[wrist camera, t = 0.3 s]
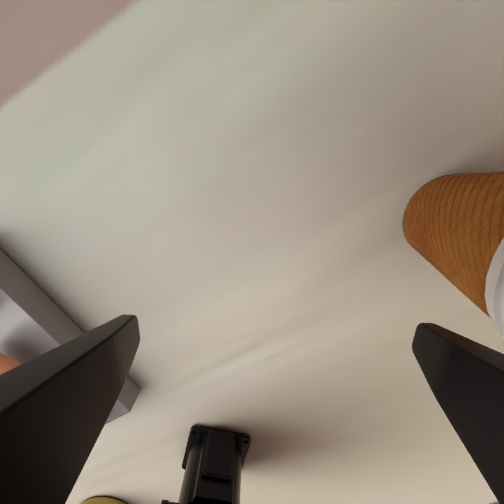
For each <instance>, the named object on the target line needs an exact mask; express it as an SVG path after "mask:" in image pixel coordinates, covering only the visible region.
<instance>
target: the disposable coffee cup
mask: <svg viewBox="0 0 504 504" xmlns="http://www.w3.org/2000/svg"><path fill="white" fill-rule="evenodd" d="M403 231H404V235H405V237H406V240H407V241H408V243H409V244H410V245H411V246H412V247H413V248H414V249H415V250H416V251H418V252H419V253H420V254H421V255H422V256H423V257H424V258H425V259H426V260H427V261H428V262H430V263H431V264H432V265H433V266H434V267H435V268H436V269H437V270H438V271H440V272H441V273H442V274H443V275H444V276H445V277H446V278H447V279H448V280H449V281H450V282H451V283H452V284H453V285H455V286H456V287H457V288H458V289H459V290H460V291H461V292H462V293H463V294H464V295H465V296H466V297H468V298H469V299H470V300H471V301H472V302H473V303H474V304H475V305H477V306H478V307H479V308H480V309H481V310H482V311H483V312H484V313H485V314H487V315H488V316H489V317H490V318H491V320H492V322H493V324H494V326H495V327H496V329H497V331H498V333H499V335H500V337H501V338H502V339H503V340H504V172H496V173H479V174H465V175H447V176H443V177H439V178H437V179H434V180H432V181H430V182H429V183H427V184H426V185H424V186H423V187H422V188H421V189H419V190H418V191H417V192H416V194H415V195H414V196H413V197H412V198H411V200H410V202H409V203H408V205H407V207H406V210H405V213H404V217H403Z"/></svg>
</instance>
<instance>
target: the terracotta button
mask: <svg viewBox="0 0 504 504" xmlns="http://www.w3.org/2000/svg"><path fill="white" fill-rule="evenodd" d="M19 365H21V363H20V362H18V361H17V360H15V359H14V358H12V357H10V356H8V355H5V354H2V353H0V375H1V374H3V373H5V372H7V371H9V370H11V369H13V368H15V367H17V366H19Z"/></svg>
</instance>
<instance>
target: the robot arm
mask: <svg viewBox="0 0 504 504" xmlns="http://www.w3.org/2000/svg"><path fill="white" fill-rule="evenodd" d="M139 342H140V334H139V326H138V319H137V317H136V316H135V315H121V316H119V317H117V318H115V319H113V320H111V321H109V322H107V323H105V324H103V325H101V326H99V327H97V328H95V329H92V330H90V331H88V332H86V333H84V334H82V335H80V336H78V337H76V338H74V339H72V340H70V341H68V342H66V343H64V344H62V345H60V346H58V347H56V348H54V349H52V350H50V351H48V352H46V353H43V354H41V355H39V356H37V357H35V358H33V359H31V360H29V361H27V362H25V363H23V364H21V365H19V366H17V367H15V368H13V369H11V370H9V371H7V372H5V373H3V374H1V375H0V504H65V503H66V501H67V499H68V497H69V495H70V493H71V491H72V489H73V487H74V485H75V483H76V481H77V479H78V477H79V475H80V473H81V471H82V469H83V467H84V465H85V463H86V461H87V459H88V457H89V455H90V453H91V451H92V449H93V447H94V445H95V443H96V441H97V439H98V437H99V435H100V433H101V431H102V429H103V427H104V425H105V423H106V421H107V419H108V417H109V415H110V413H111V411H112V409H113V407H114V405H115V403H116V401H117V399H118V397H119V395H120V392H121V390H122V388H123V386H124V383H125V381H126V378H127V375H128V373H129V370H130V367H131V365H132V362H133V359H134V356H135V354H136V351H137V348H138V346H139ZM412 350H413V353H414V355H415V357H416V359H417V361H418V363H419V365H420V367H421V369H422V371H423V373H424V376H425V378H426V380H427V382H428V384H429V386H430V388H431V390H432V392H433V394H434V396H435V398H436V399H437V401H438V403H439V404H440V406H441V408H442V409H443V411H444V413H445V414H446V416H447V418H448V419H449V421H450V423H451V424H452V426H453V428H454V429H455V431H456V432H457V434H458V436H459V437H460V439H461V441H462V442H463V444H464V446H465V447H466V449H467V451H468V452H469V454H470V456H471V457H472V459H473V460H474V462H475V464H476V465H477V467H478V469H479V470H480V472H481V474H482V475H483V477H484V479H485V480H486V482H487V483H488V485H489V487H490V488H491V490H492V492H493V493H494V495H495V497H496V498H497V500H498V502H499V503H500V504H504V354H502V353H500V352H497V351H495V350H493V349H491V348H488V347H486V346H484V345H481V344H479V343H477V342H475V341H472V340H470V339H468V338H466V337H463V336H461V335H459V334H456V333H454V332H452V331H450V330H447V329H445V328H443V327H441V326H438V325H436V324H433V323H420V324H418V326H417V328H416V332H415V336H414V339H413V343H412ZM250 441H251V438H250V436H249V435H244V434H239V433H233V432H228V431H222V430H216V429H211V428H205V427H200V426H192V427H191V430H190V434H189V438H188V443H187V447H186V451H185V455H184V459H183V464H182V468H183V469H185V474H184V479H183V483H182V488H181V493H180V497H179V502H178V503H174V502H168V501H169V500H162V504H240V483H241V468H242V465H243V462H244V459H245V457H246V454H247V451H248V448H249V445H250Z"/></svg>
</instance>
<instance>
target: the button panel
mask: <svg viewBox="0 0 504 504" xmlns="http://www.w3.org/2000/svg"><path fill="white" fill-rule="evenodd" d="M82 334H84V332H83V331H82V330H81V329H80V328H79V327H78V326H77V325H76V324H75V323H74V322H73V321H72V320H71V319H70V318H69V317H68V316H67V315H66V314H65V313H64V312H63V311H62V310H61V309H60V308H59V307H58V306H57V305H56V304H55V303H54V302H53V301H52V300H51V299H50V298H49V297H48V296H47V295H46V294H45V293H44V292H43V291H42V290H41V289H40V288H39V287H38V286H37V285H36V284H35V283H34V282H33V281H32V280H31V279H30V278H29V277H28V276H27V275H26V274H25V273H24V272H23V271H22V270H21V269H20V268H19V267H18V266H17V265H16V264H15V263H14V262H13V261H12V260H11V259H10V258H9V257H8V256H7V255H6V254H5V253H4V252H3V251H2V250H1V249H0V353H2V354H5V355H8V356H10V357H12V358H14V359H15V360H17V361H18V362H20V363H21V364H23V363H25V362H27V361H29V360H31V359H33V358H35V357H37V356H39V355H41V354H43V353H46V352H48V351H50V350H52V349H54V348H56V347H58V346H60V345H62V344H64V343H66V342H68V341H70V340H72V339H74V338H76V337H78V336H80V335H82ZM140 390H141V389H140V388H139V387H138V386H137V385H136V384H135V383H134V382H133V381H132V380H131V379H130V378H129V377H128V376H127V378H126V381H125V383H124V386H123V388H122V390H121V392H120V395H119V397H118V399H117V401H116V403H115V405H114V407H113V409H112V411H111V413H110V415H109V417H108V419H107V421H106V423H105V424H107V423H109V422H111V421H113V420H115V419H117V418H118V417H120V416H122V415H124V414H126V413H128V412H130V411H131V409H132V407H133V404H134V402H135V400H136V398H137V396H138V394H139V392H140Z"/></svg>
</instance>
